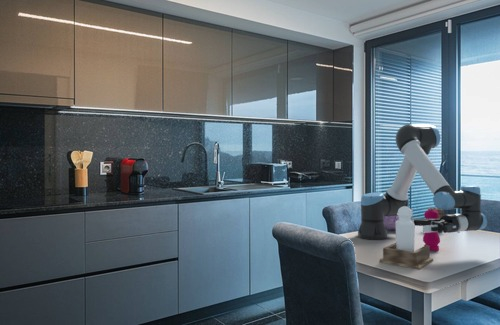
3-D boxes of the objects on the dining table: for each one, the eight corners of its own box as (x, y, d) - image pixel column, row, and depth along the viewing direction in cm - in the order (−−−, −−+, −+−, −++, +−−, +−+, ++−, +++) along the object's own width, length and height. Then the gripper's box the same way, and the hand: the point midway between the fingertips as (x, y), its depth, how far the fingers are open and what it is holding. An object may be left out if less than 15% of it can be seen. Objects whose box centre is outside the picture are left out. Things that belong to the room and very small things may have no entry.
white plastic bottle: (415, 262, 157) (415, 207, 157) (398, 261, 159) (397, 207, 158) (411, 258, 164) (411, 205, 163) (395, 257, 165) (395, 205, 165)
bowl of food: (406, 233, 219) (405, 212, 219) (371, 229, 232) (371, 209, 232) (417, 228, 235) (417, 208, 234) (384, 224, 248) (384, 206, 247)
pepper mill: (433, 252, 178) (432, 207, 177) (419, 248, 184) (419, 206, 184) (443, 250, 181) (443, 206, 181) (429, 246, 187) (429, 205, 187)
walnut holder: (379, 262, 162) (379, 247, 162) (395, 254, 174) (395, 241, 174) (419, 269, 151) (419, 253, 151) (433, 260, 163) (433, 246, 163)
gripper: (477, 237, 156) (434, 241, 150) (431, 227, 180) (392, 230, 174) (477, 218, 156) (434, 222, 150) (431, 210, 180) (392, 213, 174)
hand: (411, 226), depth 162 cm, fingers open, 13 cm apart
